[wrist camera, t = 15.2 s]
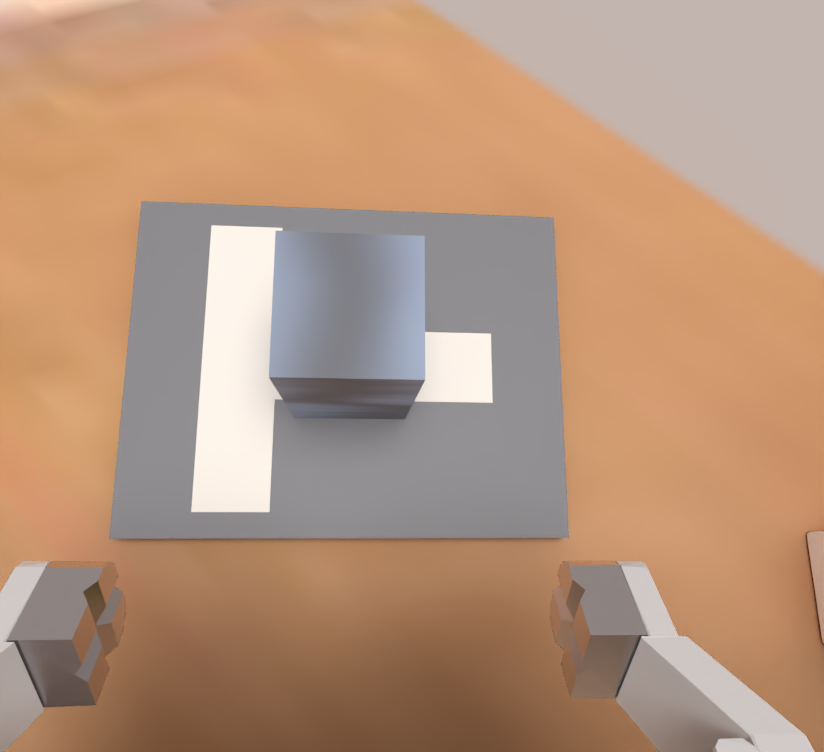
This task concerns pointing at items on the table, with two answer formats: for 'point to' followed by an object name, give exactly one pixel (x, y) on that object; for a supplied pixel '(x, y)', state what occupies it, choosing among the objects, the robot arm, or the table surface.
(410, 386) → the slate-blue block
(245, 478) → the letter board
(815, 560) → the ink cartridge box
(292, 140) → the table surface
